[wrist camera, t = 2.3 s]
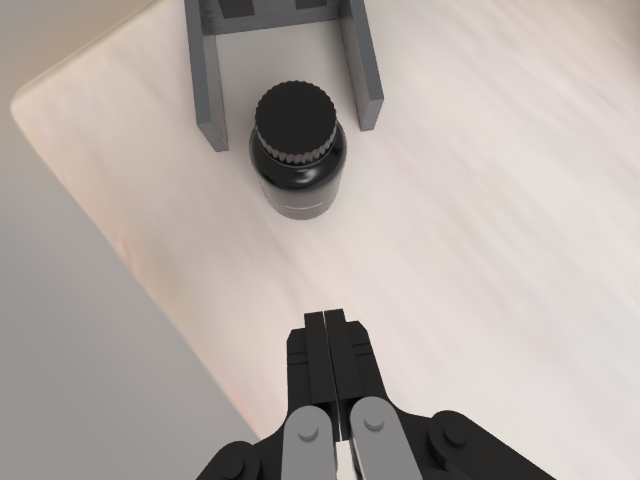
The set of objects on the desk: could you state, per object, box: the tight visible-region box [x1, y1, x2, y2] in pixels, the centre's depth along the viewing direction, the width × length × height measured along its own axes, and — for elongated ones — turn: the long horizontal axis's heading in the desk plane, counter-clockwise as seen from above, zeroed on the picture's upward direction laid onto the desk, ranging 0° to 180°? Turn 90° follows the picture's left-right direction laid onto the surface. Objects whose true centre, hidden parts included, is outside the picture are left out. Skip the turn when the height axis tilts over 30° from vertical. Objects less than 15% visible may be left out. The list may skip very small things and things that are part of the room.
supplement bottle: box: [249, 80, 347, 220], centre depth 24 cm, size 7×7×12 cm
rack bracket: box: [184, 0, 384, 152], centre depth 29 cm, size 14×15×5 cm
